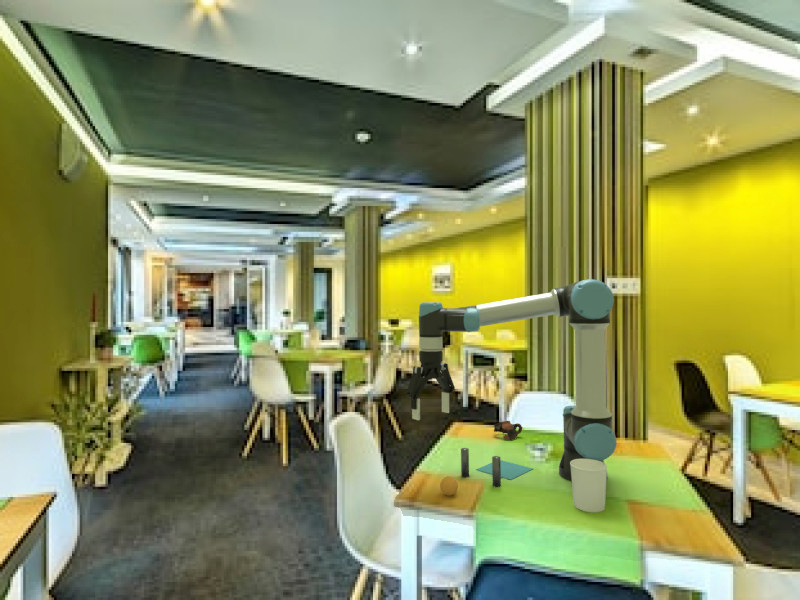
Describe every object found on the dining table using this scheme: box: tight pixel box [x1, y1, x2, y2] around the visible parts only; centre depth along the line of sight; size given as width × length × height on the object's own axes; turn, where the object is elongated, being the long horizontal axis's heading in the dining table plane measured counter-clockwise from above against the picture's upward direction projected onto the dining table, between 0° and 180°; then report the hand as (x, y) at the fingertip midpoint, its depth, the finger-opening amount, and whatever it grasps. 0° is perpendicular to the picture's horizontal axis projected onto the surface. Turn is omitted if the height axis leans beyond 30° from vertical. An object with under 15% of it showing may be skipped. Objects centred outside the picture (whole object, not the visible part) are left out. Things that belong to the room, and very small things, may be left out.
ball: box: [439, 475, 459, 497], centre depth 146 cm, size 6×6×6 cm
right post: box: [491, 455, 502, 488], centre depth 153 cm, size 3×3×9 cm
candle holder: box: [570, 459, 608, 514], centre depth 136 cm, size 10×10×12 cm
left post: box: [460, 447, 470, 478], centre depth 162 cm, size 3×3×9 cm
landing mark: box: [475, 459, 534, 481], centre depth 167 cm, size 14×14×1 cm
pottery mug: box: [493, 420, 523, 441], centre depth 206 cm, size 12×9×8 cm
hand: (431, 415), depth 155 cm, fingers open, 13 cm apart
